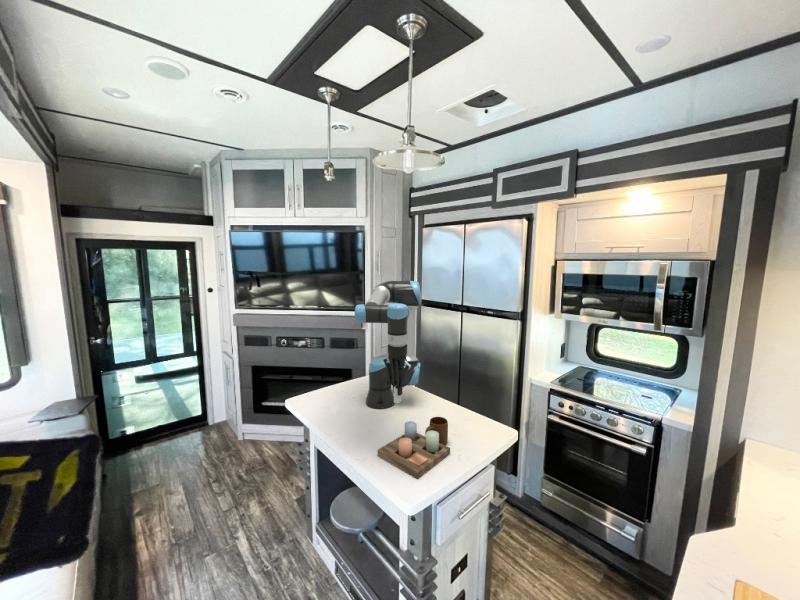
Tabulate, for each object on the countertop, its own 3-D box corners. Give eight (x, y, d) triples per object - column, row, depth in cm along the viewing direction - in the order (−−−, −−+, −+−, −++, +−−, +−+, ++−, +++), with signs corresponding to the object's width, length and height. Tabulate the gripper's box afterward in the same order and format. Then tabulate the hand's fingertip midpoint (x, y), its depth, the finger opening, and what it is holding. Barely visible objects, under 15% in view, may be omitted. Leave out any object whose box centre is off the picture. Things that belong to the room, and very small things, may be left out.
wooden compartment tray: (410, 435, 141) (410, 428, 141) (450, 453, 128) (450, 446, 128) (377, 455, 127) (377, 448, 126) (417, 479, 113) (417, 470, 113)
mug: (433, 454, 128) (433, 431, 127) (418, 446, 133) (418, 424, 132) (451, 442, 136) (451, 420, 135) (436, 435, 142) (437, 414, 140)
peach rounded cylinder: (404, 450, 128) (404, 436, 128) (414, 455, 125) (414, 440, 124) (396, 456, 125) (396, 441, 124) (405, 461, 121) (405, 446, 121)
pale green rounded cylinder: (430, 443, 131) (431, 429, 130) (441, 448, 127) (441, 433, 127) (423, 448, 127) (423, 434, 126) (433, 453, 124) (433, 438, 123)
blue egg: (409, 433, 138) (409, 420, 137) (419, 437, 135) (419, 424, 134) (401, 438, 134) (402, 424, 134) (411, 442, 131) (411, 428, 130)
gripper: (378, 343, 127) (379, 400, 131) (404, 349, 119) (403, 410, 122) (391, 339, 133) (391, 394, 136) (416, 345, 124) (416, 403, 128)
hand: (397, 401), depth 129 cm, fingers closed
